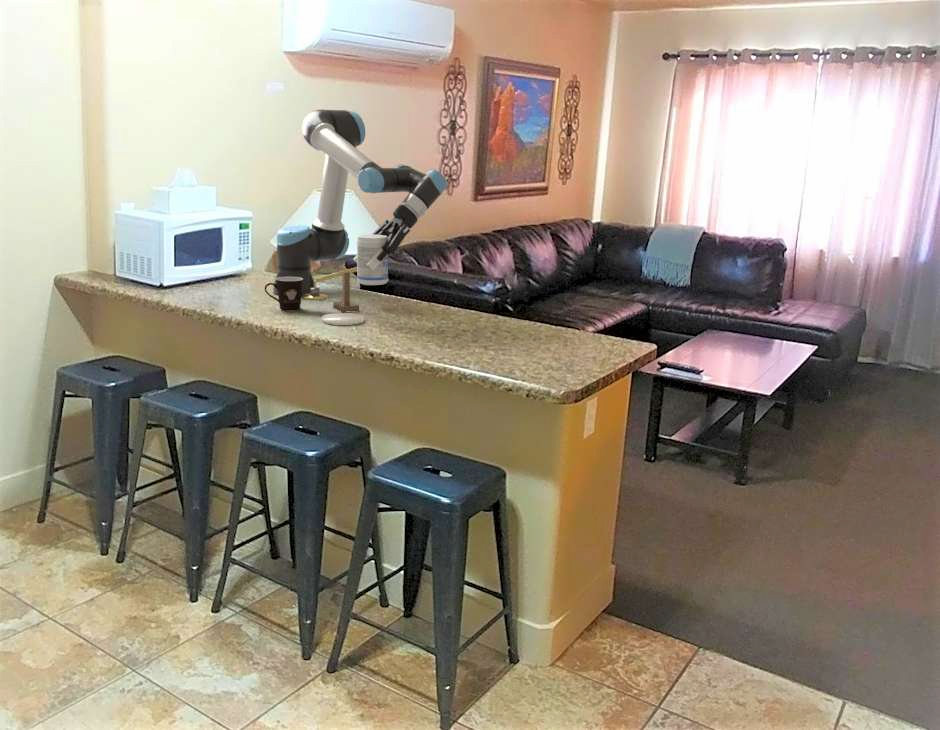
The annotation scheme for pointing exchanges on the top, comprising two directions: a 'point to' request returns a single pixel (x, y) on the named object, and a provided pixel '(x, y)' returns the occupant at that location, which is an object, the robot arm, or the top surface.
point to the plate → (342, 319)
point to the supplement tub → (365, 253)
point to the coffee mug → (288, 292)
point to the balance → (346, 303)
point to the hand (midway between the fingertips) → (363, 264)
